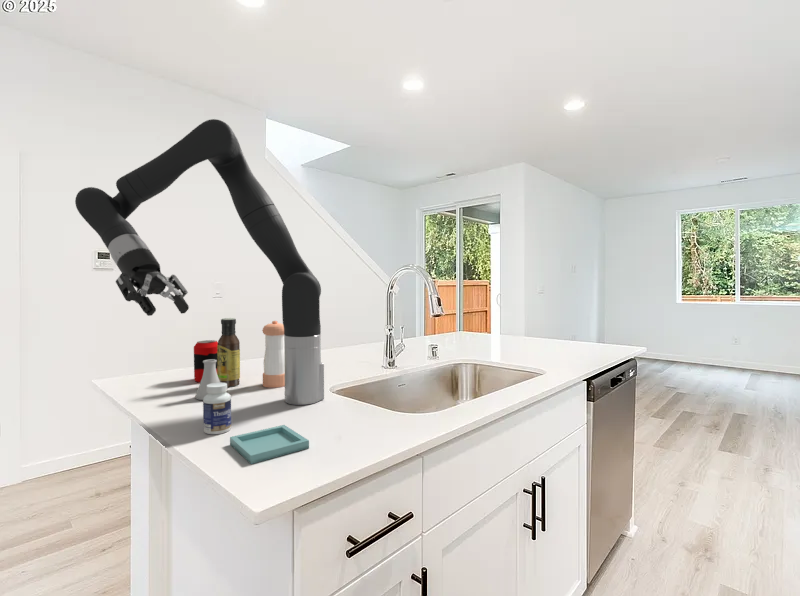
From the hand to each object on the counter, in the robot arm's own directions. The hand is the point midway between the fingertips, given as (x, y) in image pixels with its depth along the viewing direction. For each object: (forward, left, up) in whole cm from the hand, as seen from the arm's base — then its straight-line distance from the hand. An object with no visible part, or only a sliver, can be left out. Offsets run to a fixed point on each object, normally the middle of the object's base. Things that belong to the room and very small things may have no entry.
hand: (169, 312), depth 95 cm
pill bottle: (-6, +13, -24) cm, 28 cm away
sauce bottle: (-20, -24, -24) cm, 40 cm away
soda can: (-17, -35, -24) cm, 46 cm away
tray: (-11, +28, -24) cm, 39 cm away
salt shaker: (-31, -16, -24) cm, 43 cm away
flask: (-12, -14, -25) cm, 31 cm away
